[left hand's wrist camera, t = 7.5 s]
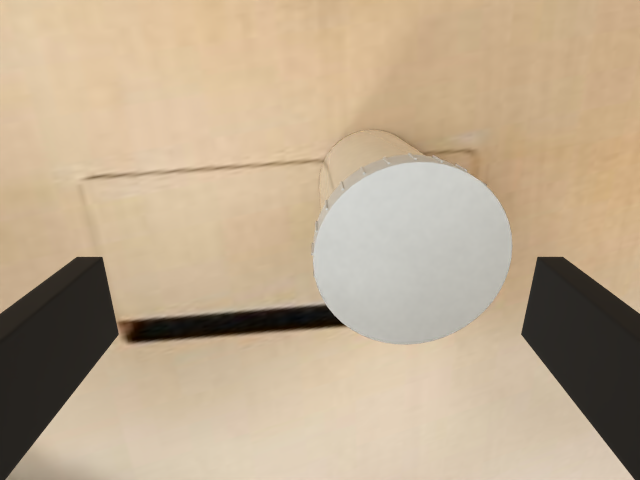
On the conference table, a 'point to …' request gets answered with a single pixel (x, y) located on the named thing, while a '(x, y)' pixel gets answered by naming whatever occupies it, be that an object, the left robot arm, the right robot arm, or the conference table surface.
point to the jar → (358, 157)
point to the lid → (410, 249)
